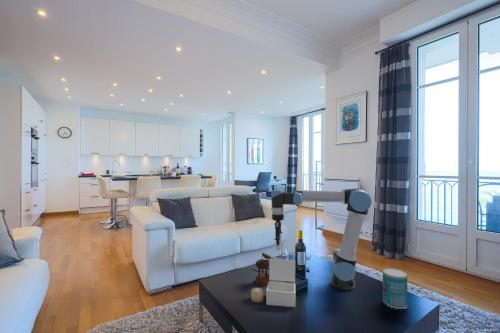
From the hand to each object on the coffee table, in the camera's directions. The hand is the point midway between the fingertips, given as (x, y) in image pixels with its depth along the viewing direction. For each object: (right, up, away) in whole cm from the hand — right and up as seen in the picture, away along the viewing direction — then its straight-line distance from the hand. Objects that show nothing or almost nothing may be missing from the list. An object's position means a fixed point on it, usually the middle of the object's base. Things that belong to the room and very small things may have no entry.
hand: (278, 246), depth 165 cm
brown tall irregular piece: (-10, -26, +7) cm, 29 cm away
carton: (0, -26, -16) cm, 31 cm away
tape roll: (-14, -26, -15) cm, 33 cm away
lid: (+1, -11, -9) cm, 15 cm away
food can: (+63, -26, -21) cm, 71 cm away
